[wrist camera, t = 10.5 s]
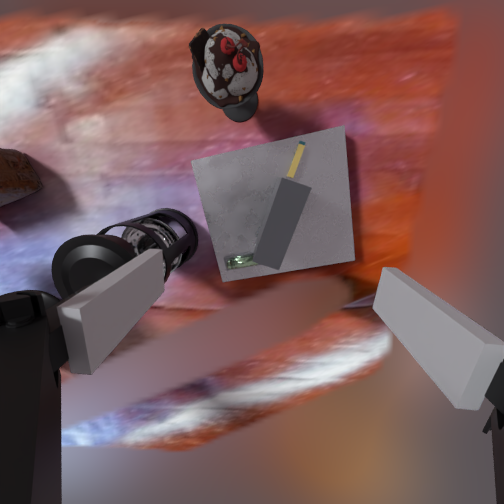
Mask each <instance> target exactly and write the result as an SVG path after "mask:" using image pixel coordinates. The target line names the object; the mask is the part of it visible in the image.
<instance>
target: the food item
mask: <svg viewBox="0 0 504 504" xmlns="http://www.w3.org/2000/svg"><path fill="white" fill-rule="evenodd" d="M40 188H42V185H41V183H40V181H39V178H38V176H37V175H36V173H35V172H34V171H33V169H32V167H31V166H30V164H29V162H28V160H27V158H26V157H25V155H24V154H23V153H22V152H19V151H17V150H13V149H2V148H0V207H1V206H3V205H5V204H8V203H11V202H13V201H16V200H18V199H21V198H23V197H25V196H27V195H29V194H31V193H34V192H36V191H38V190H39V189H40Z"/></svg>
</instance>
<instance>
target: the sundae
mask: <svg viewBox="0 0 504 504" xmlns="http://www.w3.org/2000/svg"><path fill="white" fill-rule="evenodd" d="M189 48H190V51H191V53H192V59H193V64H192V68H193V77H194V81H195V83H196V86H197V88H198V89H199V91H200V93H201V94H202V96H203V97H204V98H205V99H206V100H207V101H208V102H209V103H210V104H212V105H213V106H215V107H217V108H220V109H223V111H224V113H225V115H226V116H227V117H228V118H230V119H231V120H233V121H236V122H242V121H246V120H248V119H249V118H251V116H252V115H253V114H254V113H255V111H256V108H257V104H258V98H257V93H256V92H257V91H258V89H259V87H260V85H261V82H262V78H263V58H262V54H261V51H260V45H259V43H258V42H257V41H256V40H255V38H254V37H253V36H252V35H251V34H250V33H249V32H248V31H247V30H245V29H243V28H241V27H238V26H236V25H232V24H219V25H215V26H214V27H212V28H210V29H209V30H207V31H206V30H205V29H204V28H201V29H200V30H199V32H198V33H197V34H196V35H195V36H194V38H193V40H192V41H191V42H190V43H189Z"/></svg>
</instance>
